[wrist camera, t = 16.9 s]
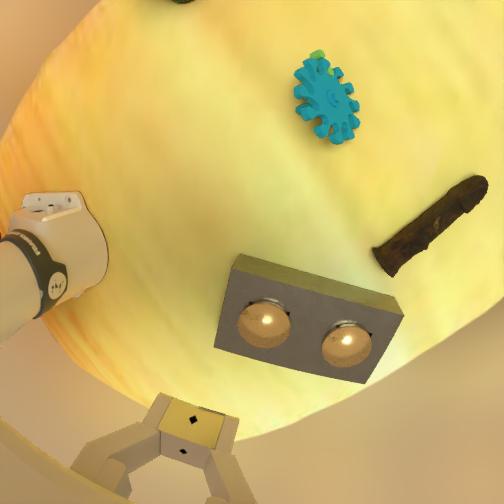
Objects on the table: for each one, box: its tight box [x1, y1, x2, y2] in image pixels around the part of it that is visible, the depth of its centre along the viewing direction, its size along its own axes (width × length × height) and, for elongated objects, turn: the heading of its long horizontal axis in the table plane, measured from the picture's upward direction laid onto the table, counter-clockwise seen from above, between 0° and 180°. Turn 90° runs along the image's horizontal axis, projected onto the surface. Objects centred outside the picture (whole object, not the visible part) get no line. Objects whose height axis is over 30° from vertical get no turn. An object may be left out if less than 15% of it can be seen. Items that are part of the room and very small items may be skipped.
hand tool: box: [373, 175, 488, 278], centre depth 31 cm, size 19×4×5 cm, turn 129°
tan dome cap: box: [322, 324, 372, 367], centre depth 36 cm, size 6×6×5 cm
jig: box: [214, 254, 404, 384], centre depth 37 cm, size 22×12×6 cm, turn 76°
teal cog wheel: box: [294, 49, 360, 145], centre depth 29 cm, size 11×6×10 cm
